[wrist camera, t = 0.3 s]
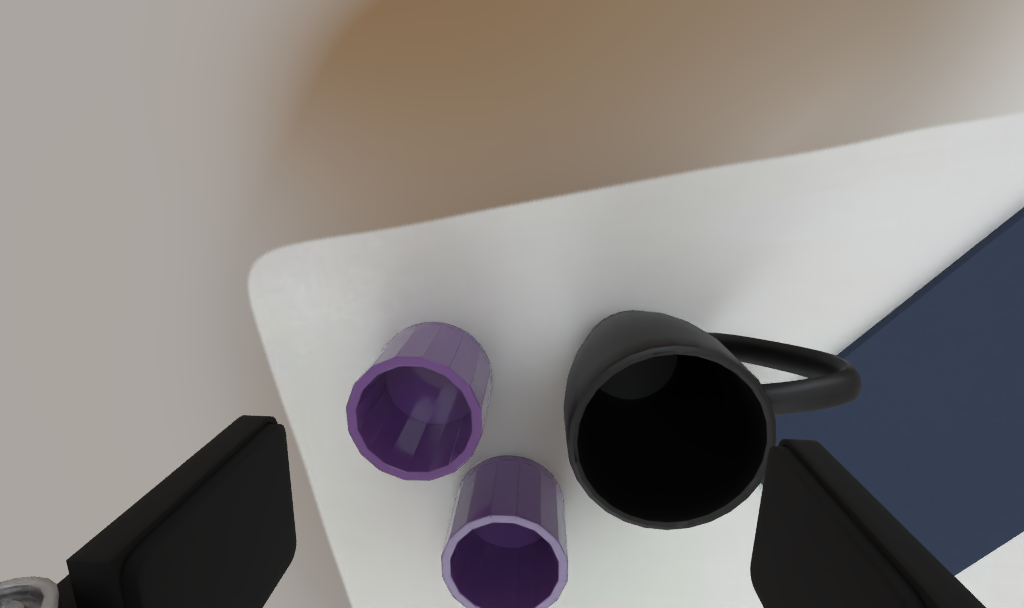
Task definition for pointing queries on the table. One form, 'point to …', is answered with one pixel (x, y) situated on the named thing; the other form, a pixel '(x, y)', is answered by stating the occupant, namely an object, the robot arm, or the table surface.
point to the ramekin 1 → (421, 402)
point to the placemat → (941, 406)
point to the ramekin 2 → (507, 537)
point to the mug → (684, 415)
